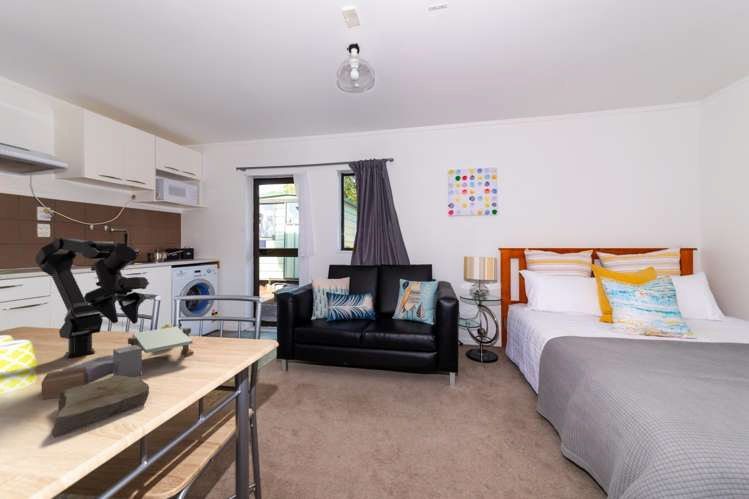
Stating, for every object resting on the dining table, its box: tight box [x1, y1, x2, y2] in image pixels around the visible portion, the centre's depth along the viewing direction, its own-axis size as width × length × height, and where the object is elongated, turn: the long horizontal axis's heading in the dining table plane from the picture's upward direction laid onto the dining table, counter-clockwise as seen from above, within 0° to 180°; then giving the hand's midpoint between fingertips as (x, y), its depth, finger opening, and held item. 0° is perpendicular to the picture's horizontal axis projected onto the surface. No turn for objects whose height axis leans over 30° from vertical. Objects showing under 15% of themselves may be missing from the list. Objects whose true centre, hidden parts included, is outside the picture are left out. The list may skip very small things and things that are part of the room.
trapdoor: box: [132, 326, 194, 354], centre depth 97 cm, size 15×12×5 cm
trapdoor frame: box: [127, 327, 194, 357], centre depth 98 cm, size 5×17×8 cm, turn 139°
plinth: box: [41, 367, 87, 401], centre depth 76 cm, size 7×7×4 cm
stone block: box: [62, 354, 113, 383], centre depth 87 cm, size 12×5×10 cm
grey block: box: [112, 345, 143, 378], centre depth 85 cm, size 5×5×8 cm
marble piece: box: [51, 375, 150, 437], centre depth 68 cm, size 17×15×4 cm
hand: (126, 323), depth 95 cm, fingers open, 9 cm apart
